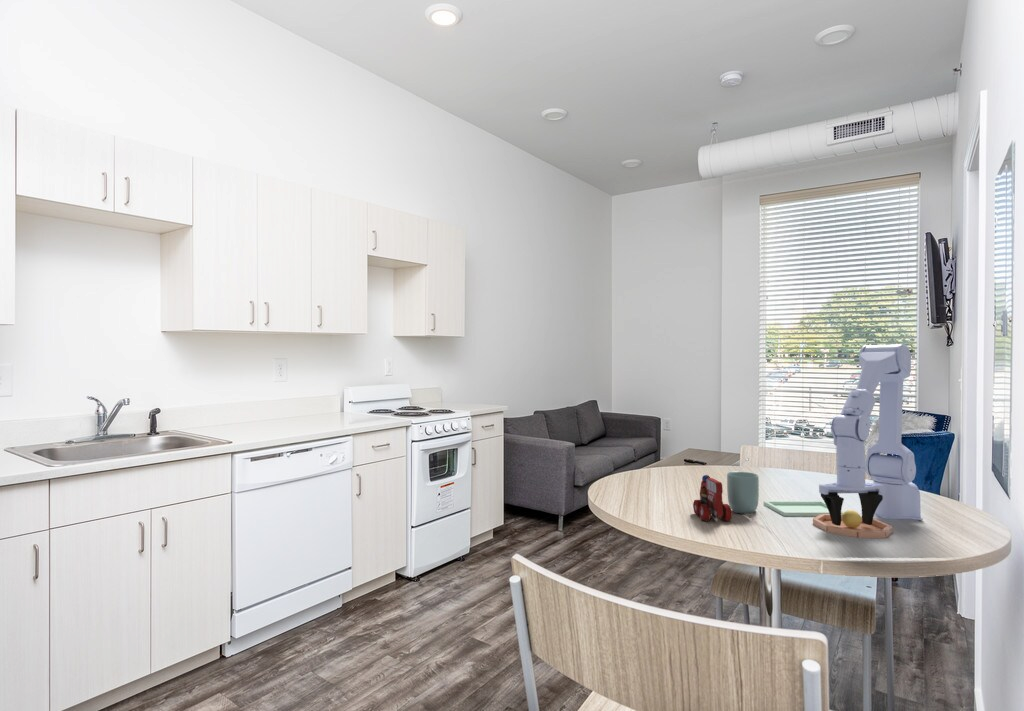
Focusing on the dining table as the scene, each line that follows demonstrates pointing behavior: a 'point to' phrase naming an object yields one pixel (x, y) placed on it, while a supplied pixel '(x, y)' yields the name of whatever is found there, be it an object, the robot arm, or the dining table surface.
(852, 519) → the ball
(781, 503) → the tray
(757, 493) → the cup
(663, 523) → the dining table surface
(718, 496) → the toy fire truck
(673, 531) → the dining table surface
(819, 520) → the dish
